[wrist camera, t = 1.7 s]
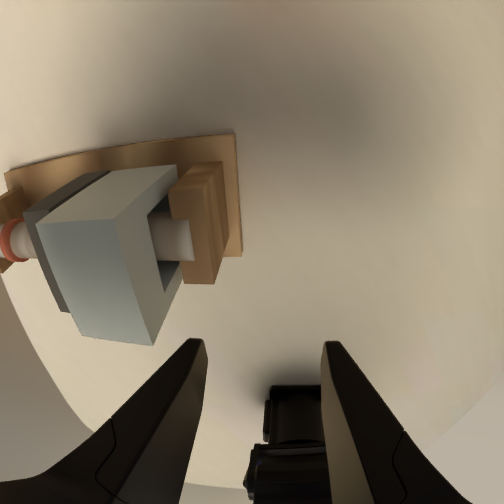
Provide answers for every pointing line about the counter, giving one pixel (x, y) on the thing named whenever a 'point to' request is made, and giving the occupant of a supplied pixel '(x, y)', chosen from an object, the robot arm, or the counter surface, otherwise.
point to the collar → (44, 209)
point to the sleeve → (113, 255)
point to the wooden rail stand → (160, 223)
